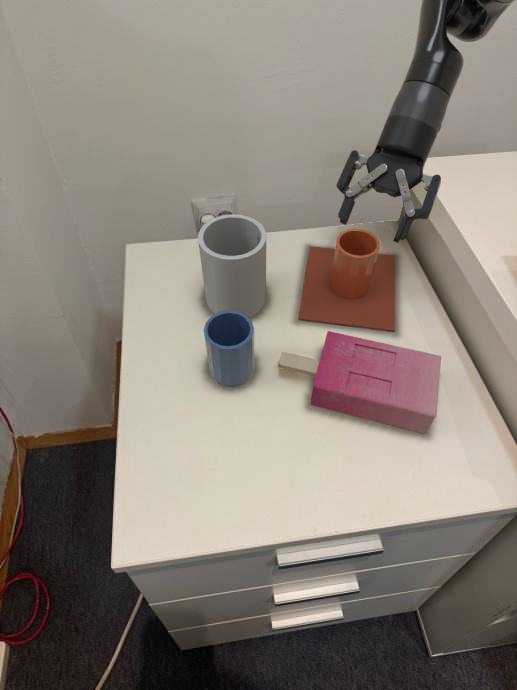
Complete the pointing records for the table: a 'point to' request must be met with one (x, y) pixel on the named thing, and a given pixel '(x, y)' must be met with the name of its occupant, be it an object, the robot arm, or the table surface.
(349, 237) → the terracotta tumbler
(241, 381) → the blue tumbler
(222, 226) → the cup
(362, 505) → the table surface
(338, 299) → the clay mat
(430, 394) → the popsicle
